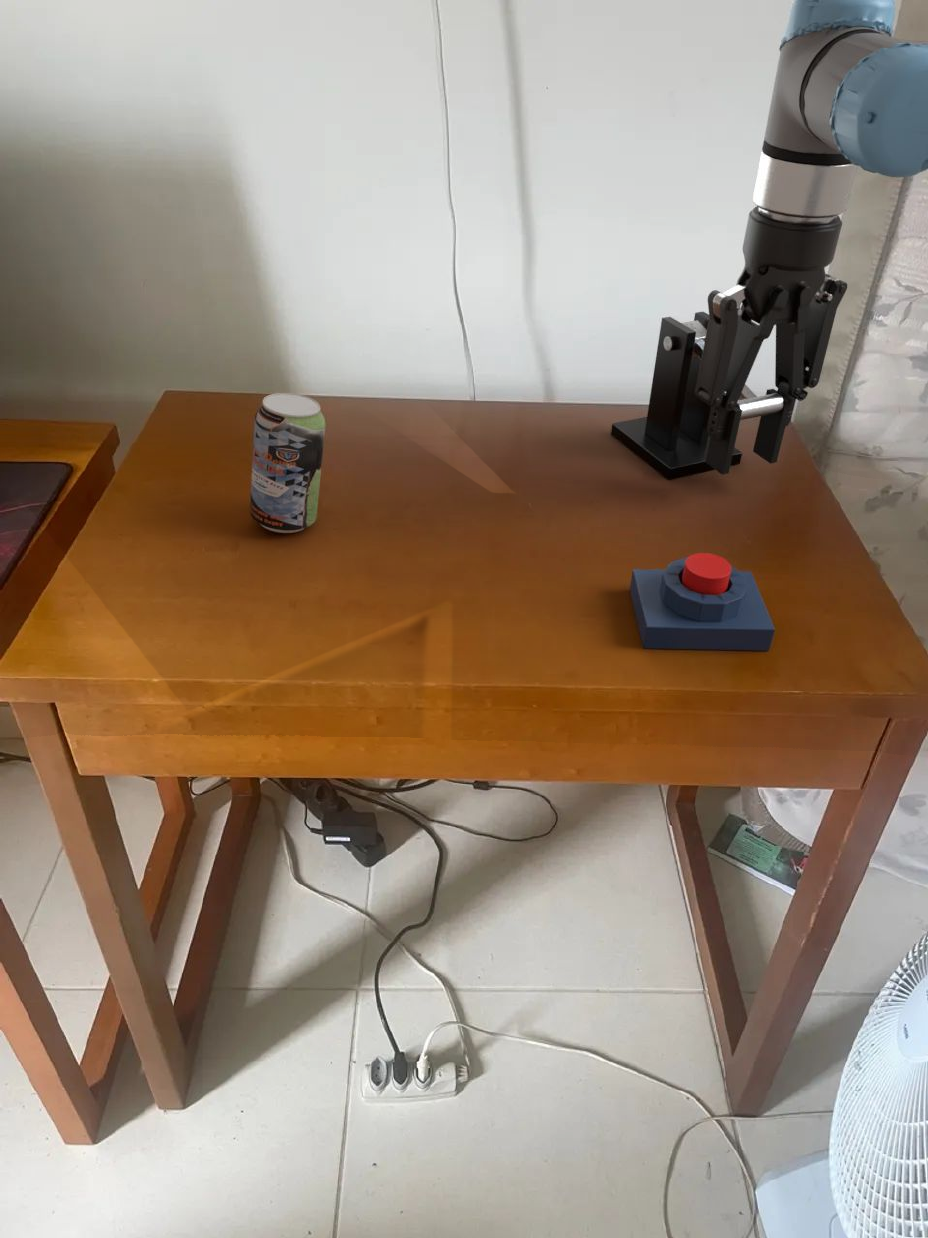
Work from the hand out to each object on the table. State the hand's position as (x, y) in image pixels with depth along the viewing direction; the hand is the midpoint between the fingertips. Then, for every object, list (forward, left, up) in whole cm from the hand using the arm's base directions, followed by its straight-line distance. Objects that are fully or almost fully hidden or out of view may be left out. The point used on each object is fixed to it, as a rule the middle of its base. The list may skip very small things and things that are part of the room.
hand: (741, 461), depth 95 cm
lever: (+5, -1, +6) cm, 8 cm away
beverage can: (+22, +37, -4) cm, 44 cm away
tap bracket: (+10, -3, -4) cm, 11 cm away
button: (-11, +19, 0) cm, 22 cm away
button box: (-11, +19, -4) cm, 23 cm away
